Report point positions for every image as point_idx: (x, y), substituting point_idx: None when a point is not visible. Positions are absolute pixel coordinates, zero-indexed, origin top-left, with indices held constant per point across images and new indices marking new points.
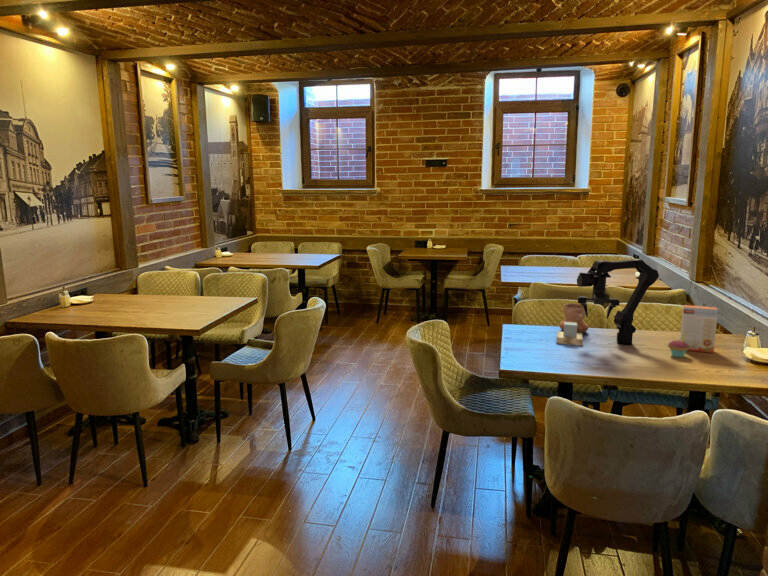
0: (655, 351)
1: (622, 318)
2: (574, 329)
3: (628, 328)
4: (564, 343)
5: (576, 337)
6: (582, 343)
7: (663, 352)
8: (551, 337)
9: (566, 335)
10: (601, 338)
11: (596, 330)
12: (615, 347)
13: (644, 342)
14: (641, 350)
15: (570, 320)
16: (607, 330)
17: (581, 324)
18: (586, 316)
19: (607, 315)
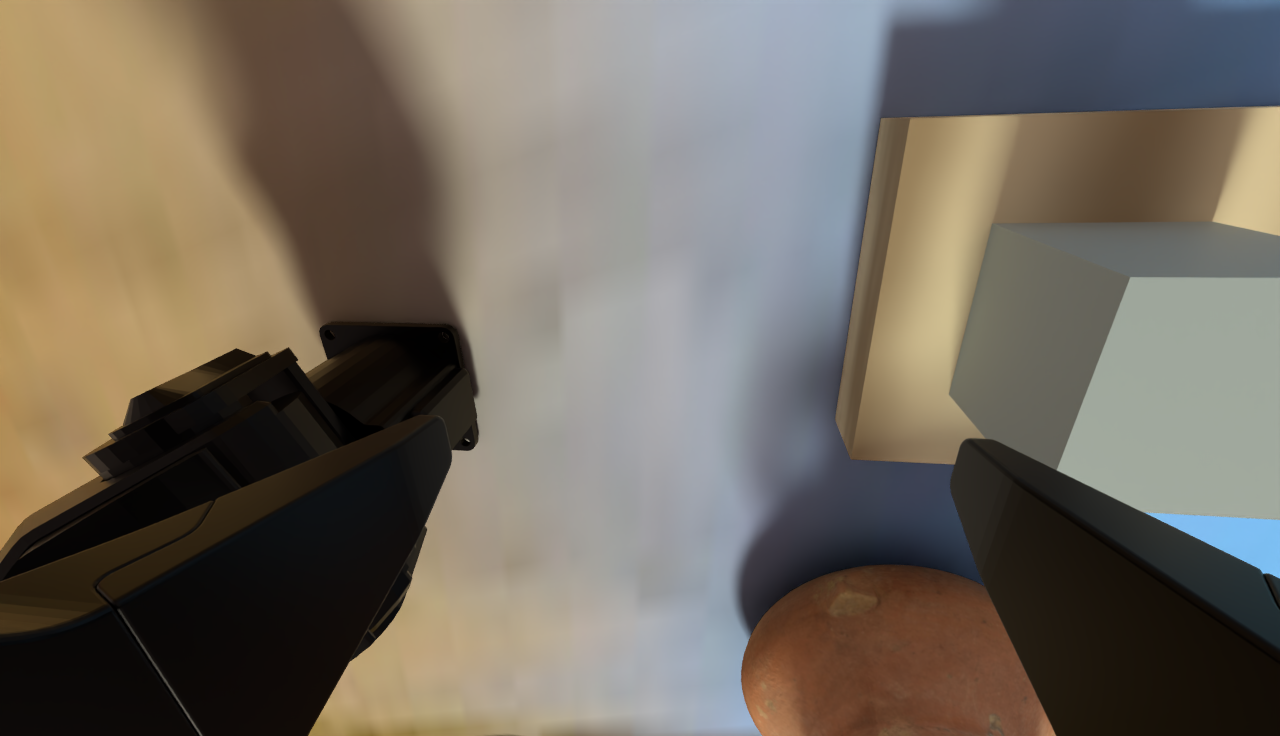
0: (79, 152)
1: (133, 488)
2: (1118, 253)
3: (199, 376)
4: (1157, 109)
5: (990, 217)
6: (890, 118)
7: (6, 139)
8: None
9: (1174, 226)
10: (624, 483)
11: (659, 687)
12: (470, 172)
13: None
14: (202, 140)
15: (989, 731)
16: (575, 696)
17: (837, 667)
18: (1008, 448)
19: (369, 452)
